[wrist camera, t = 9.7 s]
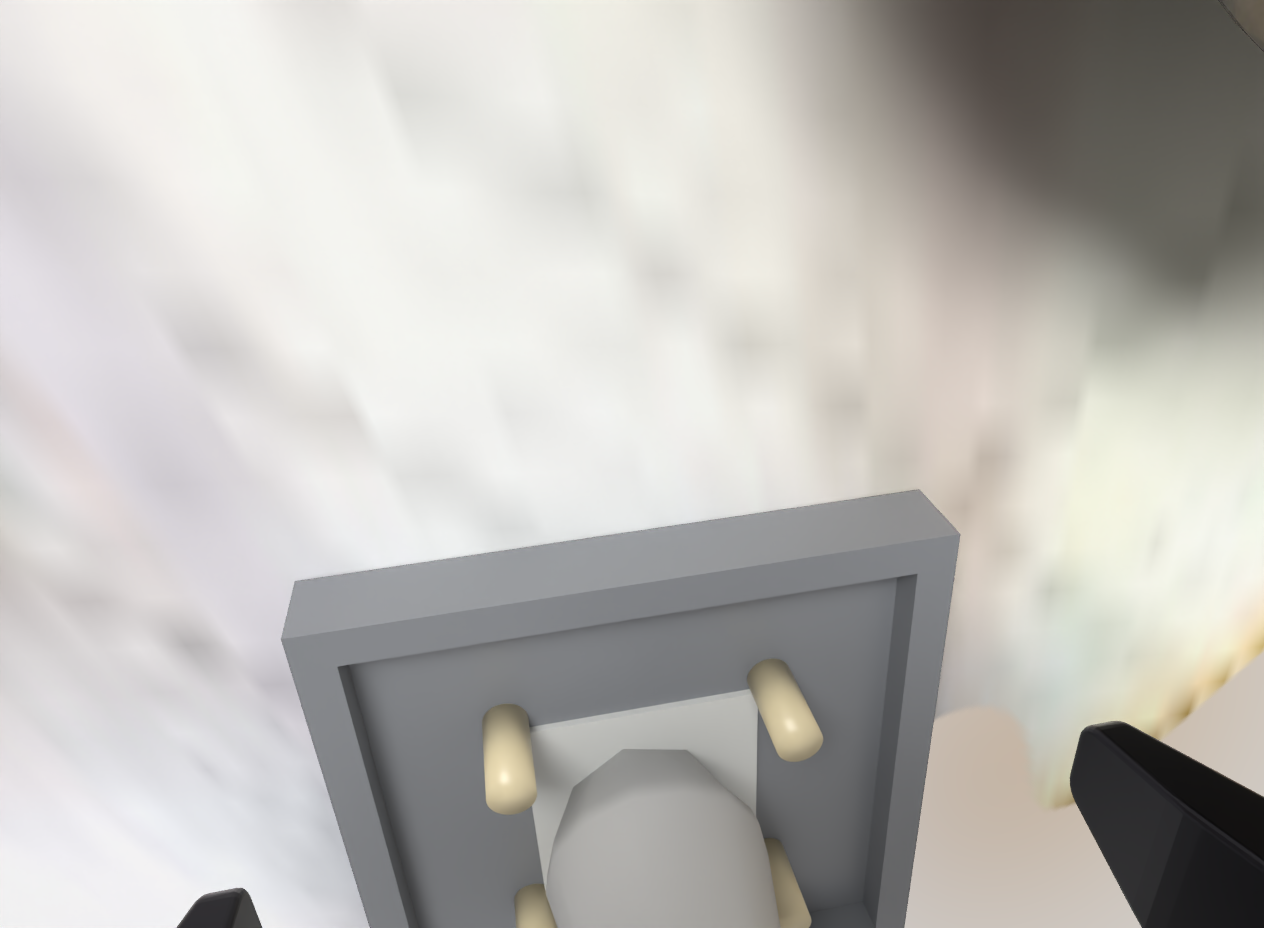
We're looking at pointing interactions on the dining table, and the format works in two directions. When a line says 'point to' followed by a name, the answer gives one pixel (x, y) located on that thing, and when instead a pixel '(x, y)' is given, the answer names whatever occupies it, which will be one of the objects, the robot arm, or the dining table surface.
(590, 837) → the salt shaker
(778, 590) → the pin tray
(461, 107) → the dining table surface
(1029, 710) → the dining table surface
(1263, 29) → the stone bowl
